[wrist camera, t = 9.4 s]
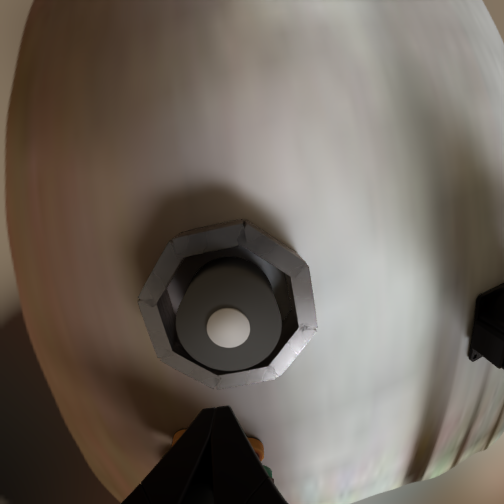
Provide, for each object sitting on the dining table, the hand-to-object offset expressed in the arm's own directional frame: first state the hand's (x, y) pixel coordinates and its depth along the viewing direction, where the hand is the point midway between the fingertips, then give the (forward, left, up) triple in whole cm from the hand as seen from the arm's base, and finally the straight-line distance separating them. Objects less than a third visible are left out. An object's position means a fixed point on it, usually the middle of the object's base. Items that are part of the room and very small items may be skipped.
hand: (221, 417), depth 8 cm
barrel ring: (0, 0, -10) cm, 10 cm away
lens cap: (0, 0, -10) cm, 10 cm away
